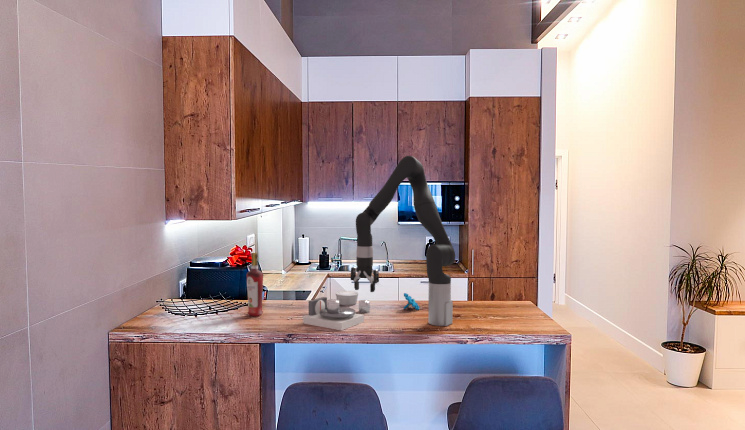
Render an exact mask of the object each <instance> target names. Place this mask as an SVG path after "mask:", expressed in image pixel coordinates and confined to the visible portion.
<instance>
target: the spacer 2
mask: <svg viewBox="0 0 745 430" xmlns="http://www.w3.org/2000/svg"><path fill="white" fill-rule="evenodd" d="M370 303H371V301H370V300H368V299H360V300H358V314H368V313H370V312H371V307H370V306H371V305H370Z"/></svg>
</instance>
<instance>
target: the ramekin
mask: <svg viewBox="0 0 745 430" xmlns="http://www.w3.org/2000/svg"><path fill="white" fill-rule="evenodd" d="M358 296H359V292H357V291H356V290H354V291H353V290H342V291H341V290H340V291H337V292H335V297H336V298H335V299H336V300H339V306H353V305H356V304H357V302H358V298H359V297H358Z"/></svg>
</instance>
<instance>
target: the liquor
mask: <svg viewBox="0 0 745 430" xmlns="http://www.w3.org/2000/svg"><path fill="white" fill-rule="evenodd" d="M258 255H259V253H258V252H251V267H250V268H251V270H249V271H248V272H246V275H245V276H246V287H247V288H246V290H247V305H248V306H247V307H248V310H247V315H249V316H250V317H255V318H256V317H260V316H261V315H262V314H264V311H263V289H264V272H263V271H261V270H259V265H258V264H259V263H258V257H259V256H258Z"/></svg>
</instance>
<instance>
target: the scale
mask: <svg viewBox="0 0 745 430" xmlns="http://www.w3.org/2000/svg"><path fill="white" fill-rule="evenodd" d="M327 300H328V297H326V296H322V297H319V298H314V299H311V300H308V314H306V315H303V317H302V323H303V324H305V325H311V326H315V327H321V328H327V329H333V330H338V331H344V330H346V329H349V328H351V327H354V326H357V325H359V324H362V323H364V322H365V315H364V314H363V313H356V312H355V315H353V316H350V317H344V318H329V317H323V316H321V315H320V310H322V309H325V308H327Z"/></svg>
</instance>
